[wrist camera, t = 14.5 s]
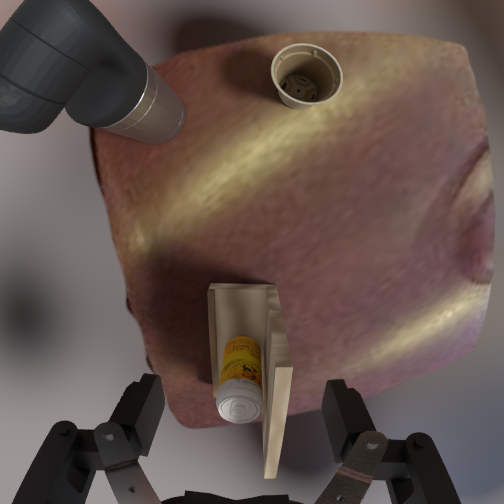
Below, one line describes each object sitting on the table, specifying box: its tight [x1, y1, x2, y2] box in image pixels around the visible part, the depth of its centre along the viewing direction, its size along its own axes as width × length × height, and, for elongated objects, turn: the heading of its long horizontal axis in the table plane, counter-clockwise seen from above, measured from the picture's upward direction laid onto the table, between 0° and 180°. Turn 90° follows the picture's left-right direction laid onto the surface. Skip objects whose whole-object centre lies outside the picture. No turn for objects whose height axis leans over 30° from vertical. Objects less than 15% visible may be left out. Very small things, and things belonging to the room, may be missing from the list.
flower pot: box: [271, 43, 343, 110], centre depth 34 cm, size 9×9×9 cm
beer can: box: [216, 336, 263, 423], centre depth 39 cm, size 6×6×15 cm
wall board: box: [207, 283, 293, 479], centre depth 38 cm, size 11×22×22 cm, turn 179°
